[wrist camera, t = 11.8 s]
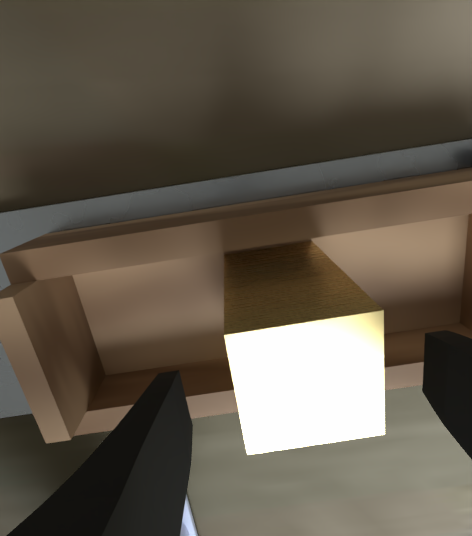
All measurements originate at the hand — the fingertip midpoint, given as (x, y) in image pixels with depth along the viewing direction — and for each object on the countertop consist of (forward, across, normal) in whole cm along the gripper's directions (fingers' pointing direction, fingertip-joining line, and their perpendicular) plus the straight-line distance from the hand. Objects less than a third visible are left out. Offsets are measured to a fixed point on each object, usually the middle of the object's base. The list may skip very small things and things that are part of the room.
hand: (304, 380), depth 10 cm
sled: (+7, 0, 0) cm, 7 cm away
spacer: (+6, 0, 0) cm, 6 cm away
